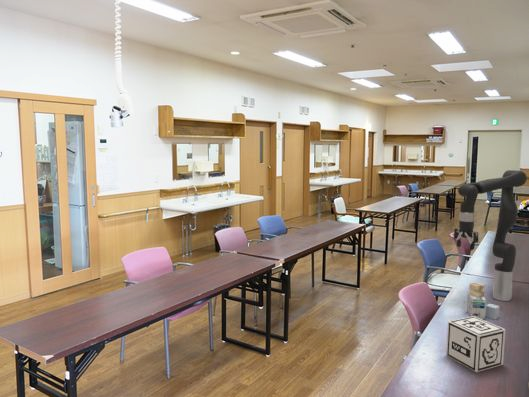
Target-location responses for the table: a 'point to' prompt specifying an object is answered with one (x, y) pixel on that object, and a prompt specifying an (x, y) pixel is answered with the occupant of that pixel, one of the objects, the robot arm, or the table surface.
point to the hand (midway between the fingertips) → (465, 248)
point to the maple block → (476, 290)
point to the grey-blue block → (492, 311)
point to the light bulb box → (476, 306)
